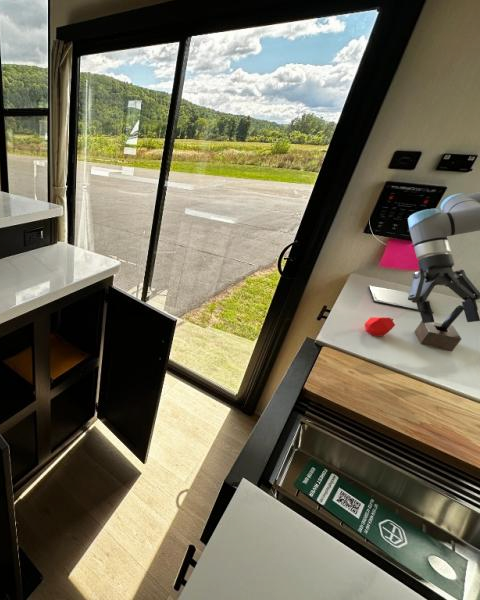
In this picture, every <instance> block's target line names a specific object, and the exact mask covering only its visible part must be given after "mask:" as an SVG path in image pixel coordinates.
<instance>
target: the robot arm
mask: <svg viewBox="0 0 480 600" xmlns="http://www.w3.org/2000/svg"><path fill="white" fill-rule="evenodd" d="M407 224H408V231H409V234H410V238H411V242H412V246H413V248H414V252H415V256H416V259H418V260H417V266H418V269H419V270H418V271H415V272H413V273H412V283H411V285H410V290H409V292H408V293H409V296H408V300H410V301H411V300H412V302H413V303H417V307H418V311H417V312H419V313H420V318H421V321H422V322H423V323H429V322H435V318H434V313H433V314H432V310H433V309H432V310H431V308H432V307H431V303H430V300H428V297H429V296H430V294H431V293H432V291H433V289H434V288H435V286H444V287H447V288H449V289H450V290H451V291H452V292H453V293H455V294H456V295H457V296H458V297H459V298H461V299H462V300H463V301H461V304H462V306H464V307H465V309H464V310H463V312H464V316H465V319H466V322H467V323H473V322H474V323H475V322H480V315H479V307H478V304H477V301H478V300H480V290H479V289H478V288H477V287H476V286H475V285H474V284H473V282H472V281H471V280H470V279H469V277H468V276H467V274H466V272H465V270H464V269H458V270H453V267H454V266H455V261H454V258H453V254H451V253H452V249H451V246H450V243H449V238H448V237H451V236H456V235H463V234H468V233H474V232H479V231H480V191H477V192H473V193H468V194H467V193H455V194H452V195H449V196H448V197H446V198H445V199H444V200H443V201H442V203H440V210H439V208H430V209H429V208H427V209H423V210H420V211H416V212H414V213H412V214H411V215H409V217H408V218H407ZM426 300H427V301H426Z"/></svg>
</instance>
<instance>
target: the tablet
mask: <svg viewBox="0 0 480 600" xmlns="http://www.w3.org/2000/svg"><path fill="white" fill-rule="evenodd" d="M368 289H369V290H368V291H369V293H370V295H371V298H372V301H373V303H377V304H382V305H387V306H391V307H397V308H401V309H407V310H411V311H416V312H419V311H418V307H417V303H413V302H412V300H411V301H410V300H408V296H409V292H407V291H401V290H395V289H390V288H385V287H379V286H373V285H368ZM426 301H428V299H426ZM431 310H432V314H433V315H434V313H435V312H434V310H433V309H432V307H431Z"/></svg>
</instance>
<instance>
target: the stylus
mask: <svg viewBox="0 0 480 600" xmlns="http://www.w3.org/2000/svg"><path fill="white" fill-rule="evenodd" d="M464 309H465V307H464V306H463V305H461V304H459V305H457V306H456V307H455V308H454V310H453V311H452V312H451V313H450V314H449V315H448V316H447V318H446V319H445V320H444V321H443V322H442V325H441V326H440V327H439V328H438V330H439V331H444V332H445V331H446V330H447V328H448V327H449V326H450V325H451V326H452V324H453V323H454V322H455V320H457V318H458V317H460V315H461V314H462V313H463V312H464Z"/></svg>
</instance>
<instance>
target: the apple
mask: <svg viewBox="0 0 480 600" xmlns="http://www.w3.org/2000/svg"><path fill="white" fill-rule="evenodd" d="M395 326H396V324H395V323H394V318H391V317H387V316H386V317H385V316H381V317H380V316H379V317H377V316H376V317H369V318H368V319H367V321H365V323H364V328H365V329H364V330H365V331H366V332H367V333H368V334H370V335H371V336H374V337H375V336H377V337H385V336H386V335H388V333H389V332H391V331H392V330H393V329H394V327H395Z"/></svg>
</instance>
